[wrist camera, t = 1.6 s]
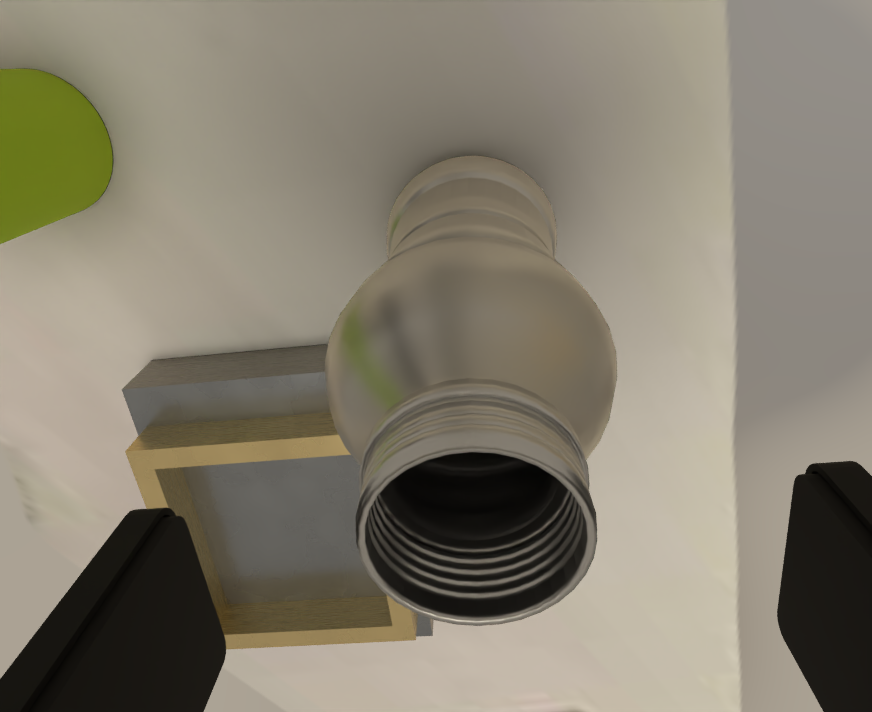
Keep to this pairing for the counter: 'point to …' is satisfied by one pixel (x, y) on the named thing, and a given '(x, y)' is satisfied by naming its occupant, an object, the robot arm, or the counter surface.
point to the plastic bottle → (472, 400)
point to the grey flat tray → (262, 496)
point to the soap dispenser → (47, 151)
